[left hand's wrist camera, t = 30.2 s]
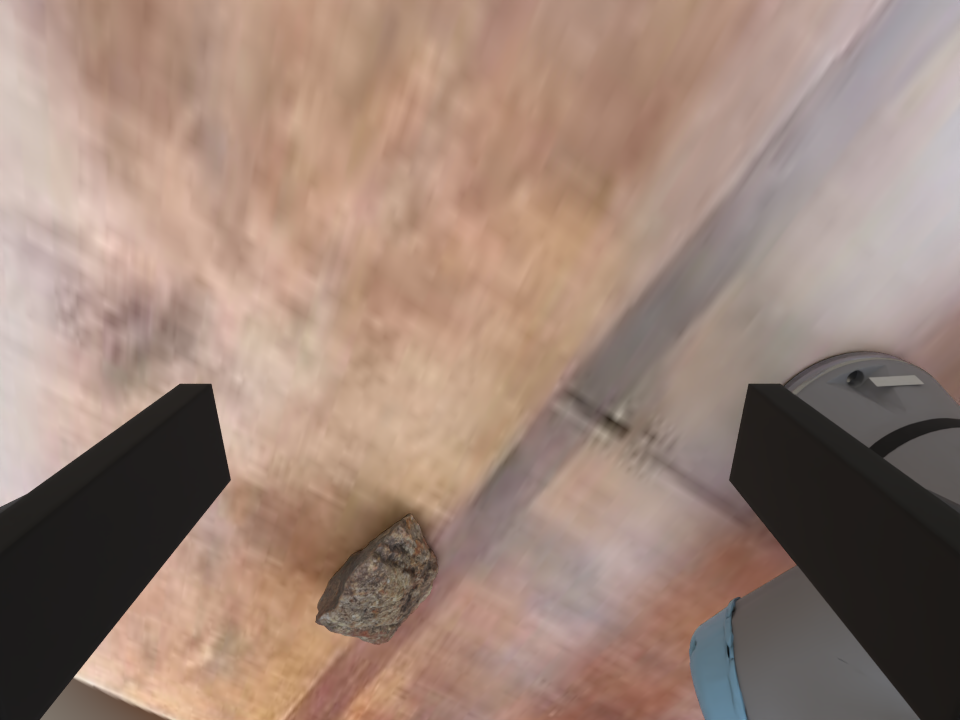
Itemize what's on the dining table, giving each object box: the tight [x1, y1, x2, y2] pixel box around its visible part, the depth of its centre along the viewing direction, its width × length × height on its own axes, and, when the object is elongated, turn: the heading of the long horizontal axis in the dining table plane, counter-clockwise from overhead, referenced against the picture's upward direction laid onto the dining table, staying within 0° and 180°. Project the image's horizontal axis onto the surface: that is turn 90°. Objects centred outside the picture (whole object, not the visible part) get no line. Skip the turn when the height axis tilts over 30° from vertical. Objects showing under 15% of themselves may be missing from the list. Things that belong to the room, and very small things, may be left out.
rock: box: [315, 514, 438, 645], centre depth 47 cm, size 14×9×10 cm
